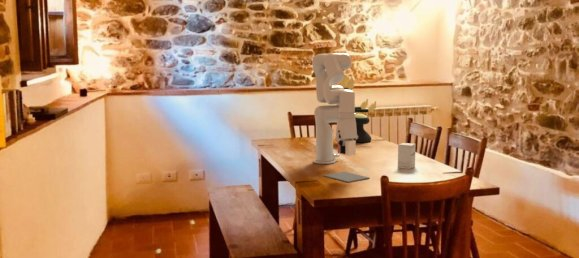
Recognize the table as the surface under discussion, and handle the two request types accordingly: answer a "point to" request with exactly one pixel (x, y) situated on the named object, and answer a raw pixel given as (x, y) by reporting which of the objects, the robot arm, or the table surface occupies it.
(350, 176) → the mat
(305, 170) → the table surface
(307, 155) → the table surface
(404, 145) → the supplement box
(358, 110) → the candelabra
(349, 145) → the card box
